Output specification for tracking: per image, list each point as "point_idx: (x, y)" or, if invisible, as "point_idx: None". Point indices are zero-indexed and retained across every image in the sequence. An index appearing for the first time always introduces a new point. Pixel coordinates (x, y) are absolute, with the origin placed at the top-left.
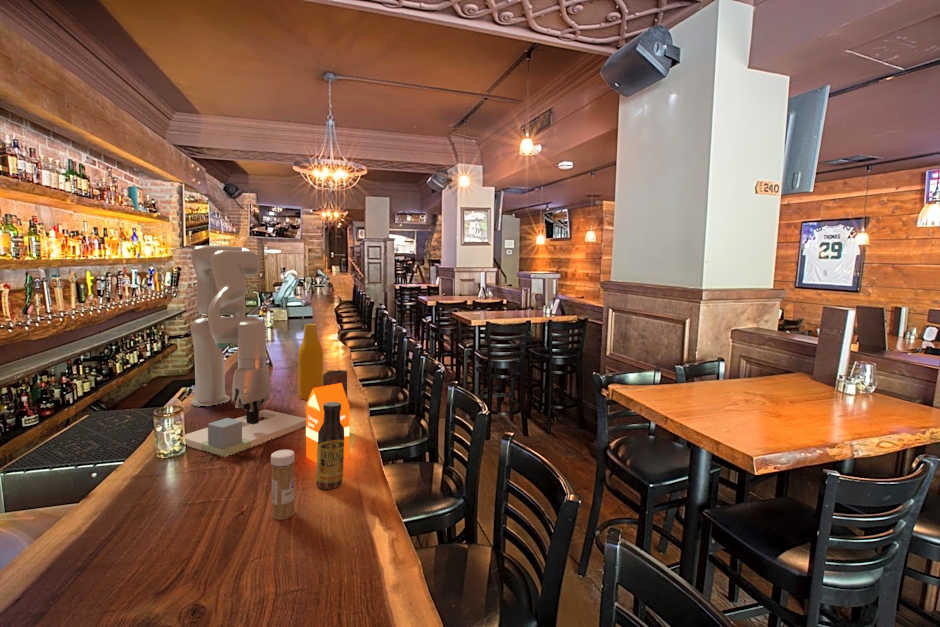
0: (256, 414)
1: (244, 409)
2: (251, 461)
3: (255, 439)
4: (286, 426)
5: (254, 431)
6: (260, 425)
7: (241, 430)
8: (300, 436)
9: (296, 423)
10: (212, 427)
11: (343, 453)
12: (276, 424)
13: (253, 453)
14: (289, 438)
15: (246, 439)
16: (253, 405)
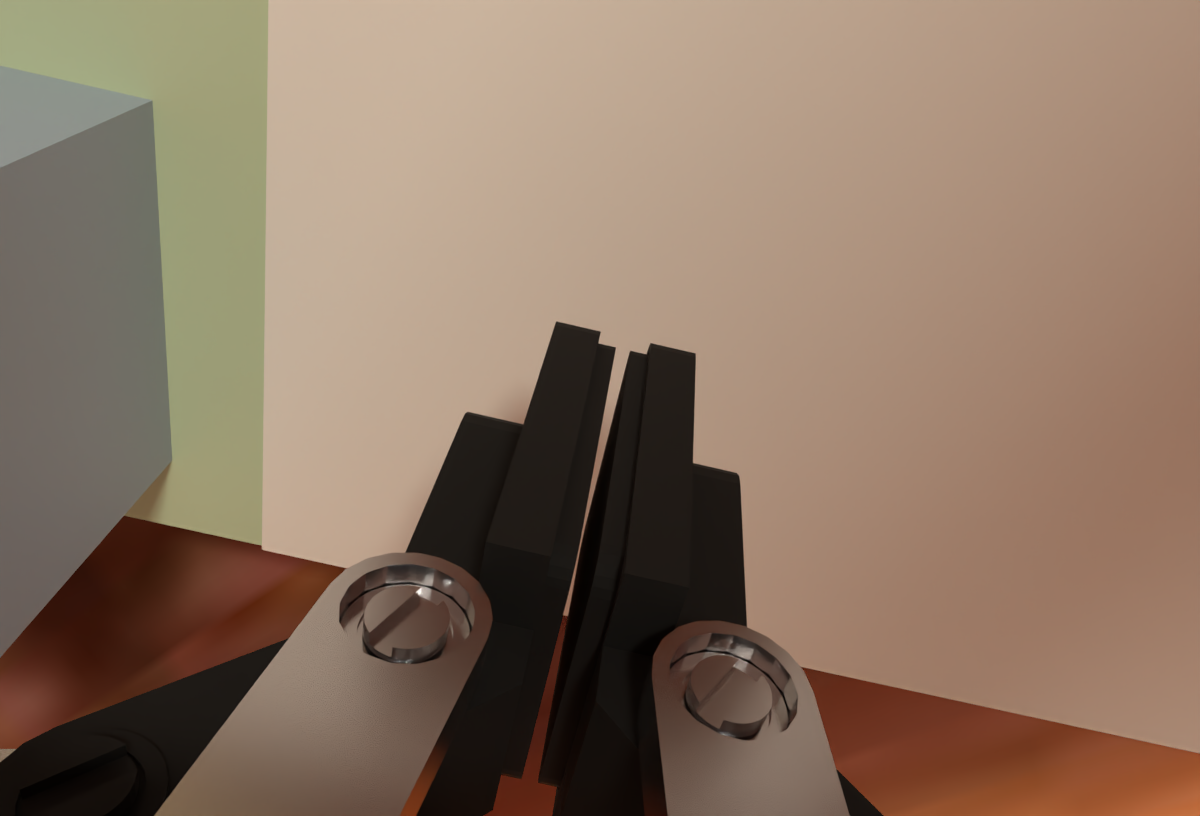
0: (551, 716)
1: (328, 592)
2: (37, 689)
3: (351, 564)
4: (1012, 683)
5: None
6: (1012, 252)
7: (34, 598)
8: (868, 790)
9: (1187, 745)
10: None
11: None
12: (1110, 502)
13: (190, 603)
14: None
15: (268, 465)
16: (656, 796)
